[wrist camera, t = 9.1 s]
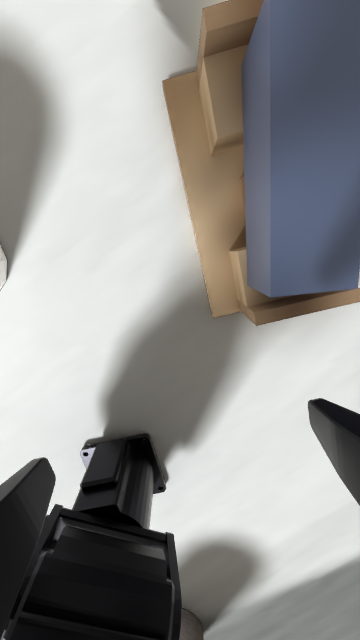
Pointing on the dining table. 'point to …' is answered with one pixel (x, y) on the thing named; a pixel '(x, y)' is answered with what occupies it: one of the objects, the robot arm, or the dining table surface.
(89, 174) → the dining table surface
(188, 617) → the pillar candle
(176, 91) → the display cradle
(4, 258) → the white cup
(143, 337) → the dining table surface
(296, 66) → the tall slate-blue box
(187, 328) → the dining table surface
